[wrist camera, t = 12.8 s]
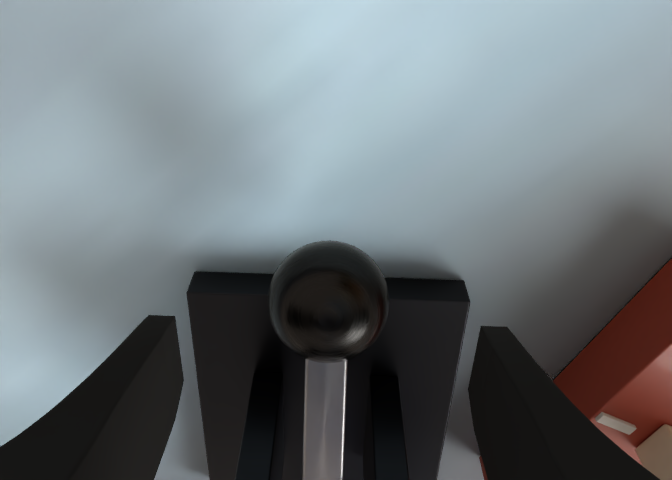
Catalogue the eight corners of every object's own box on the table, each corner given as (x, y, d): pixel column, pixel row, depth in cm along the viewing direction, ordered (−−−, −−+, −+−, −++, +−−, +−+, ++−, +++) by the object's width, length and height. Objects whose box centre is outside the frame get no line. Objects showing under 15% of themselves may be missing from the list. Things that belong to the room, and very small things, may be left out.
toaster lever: (274, 231, 17) (261, 248, 14) (386, 235, 17) (398, 253, 14) (267, 581, 19) (254, 668, 16) (370, 584, 19) (377, 671, 16)
